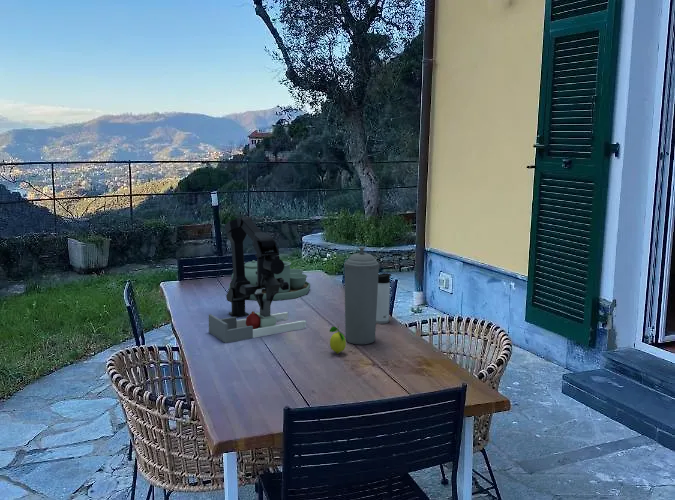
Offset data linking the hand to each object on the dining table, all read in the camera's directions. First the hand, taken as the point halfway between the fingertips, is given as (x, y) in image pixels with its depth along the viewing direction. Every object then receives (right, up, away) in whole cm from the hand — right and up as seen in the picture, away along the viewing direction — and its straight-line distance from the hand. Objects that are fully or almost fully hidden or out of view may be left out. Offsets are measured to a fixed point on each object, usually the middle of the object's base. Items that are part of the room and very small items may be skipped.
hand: (265, 309), depth 232 cm
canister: (+36, -11, -11) cm, 39 cm away
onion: (-4, -9, -1) cm, 10 cm away
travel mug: (+46, -7, +13) cm, 48 cm away
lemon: (+28, -13, -25) cm, 40 cm away
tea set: (-6, +2, +63) cm, 63 cm away
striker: (+2, -8, +2) cm, 8 cm away
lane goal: (-3, -8, 0) cm, 9 cm away
